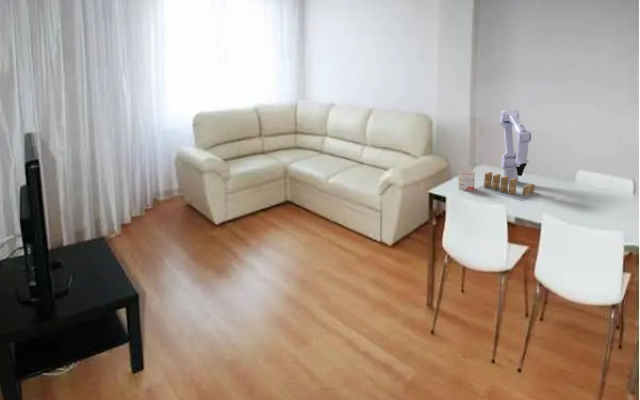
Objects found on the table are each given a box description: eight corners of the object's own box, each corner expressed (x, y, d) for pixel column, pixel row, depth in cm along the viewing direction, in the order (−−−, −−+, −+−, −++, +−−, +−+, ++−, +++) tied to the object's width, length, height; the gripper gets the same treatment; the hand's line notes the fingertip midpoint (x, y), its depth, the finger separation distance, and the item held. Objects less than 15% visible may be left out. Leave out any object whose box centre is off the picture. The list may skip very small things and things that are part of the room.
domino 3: (499, 192, 278) (501, 177, 275) (505, 190, 281) (506, 175, 277) (502, 192, 277) (503, 178, 274) (507, 190, 279) (508, 176, 276)
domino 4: (508, 194, 274) (509, 179, 271) (513, 192, 276) (514, 177, 273) (510, 195, 272) (512, 180, 269) (515, 193, 275) (517, 178, 272)
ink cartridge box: (474, 189, 287) (475, 165, 282) (472, 191, 283) (474, 167, 278) (459, 187, 291) (461, 164, 286) (458, 189, 287) (459, 166, 282)
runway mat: (487, 184, 293) (487, 183, 293) (534, 196, 269) (534, 196, 269) (475, 188, 287) (475, 188, 287) (521, 202, 263) (522, 201, 263)
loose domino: (523, 186, 270) (532, 183, 275) (522, 194, 272) (531, 192, 277) (525, 186, 269) (534, 184, 274) (524, 195, 271) (533, 192, 276)
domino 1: (483, 187, 286) (484, 173, 283) (489, 186, 289) (490, 171, 286) (486, 188, 285) (487, 174, 282) (491, 186, 288) (492, 172, 285)
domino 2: (491, 190, 282) (492, 175, 279) (496, 188, 285) (498, 173, 282) (494, 190, 281) (495, 176, 278) (499, 188, 284) (500, 174, 280)
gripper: (525, 156, 265) (523, 179, 270) (532, 150, 276) (530, 173, 280) (512, 155, 269) (510, 178, 274) (520, 149, 280) (517, 171, 284)
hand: (519, 175), depth 277 cm, fingers closed
